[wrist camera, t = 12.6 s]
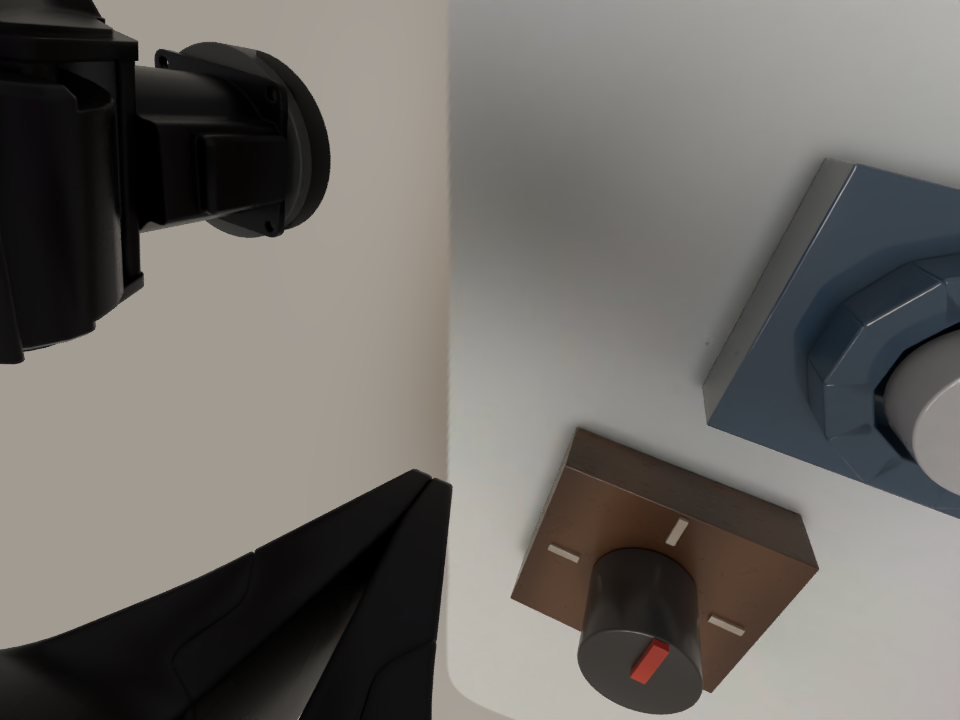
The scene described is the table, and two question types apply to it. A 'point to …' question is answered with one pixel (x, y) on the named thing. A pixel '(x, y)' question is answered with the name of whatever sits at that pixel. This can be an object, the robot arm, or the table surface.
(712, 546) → the panel
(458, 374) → the table surface
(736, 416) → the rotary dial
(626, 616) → the lock knob
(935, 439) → the push button
